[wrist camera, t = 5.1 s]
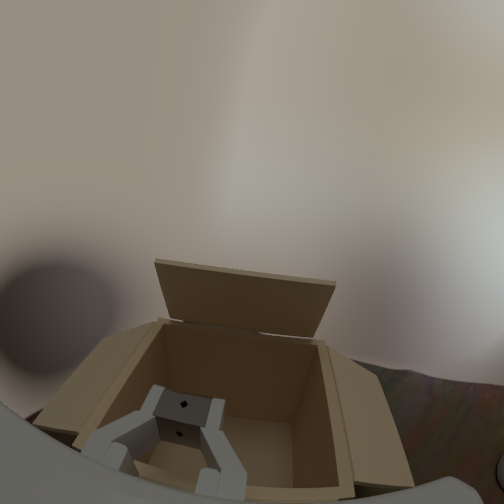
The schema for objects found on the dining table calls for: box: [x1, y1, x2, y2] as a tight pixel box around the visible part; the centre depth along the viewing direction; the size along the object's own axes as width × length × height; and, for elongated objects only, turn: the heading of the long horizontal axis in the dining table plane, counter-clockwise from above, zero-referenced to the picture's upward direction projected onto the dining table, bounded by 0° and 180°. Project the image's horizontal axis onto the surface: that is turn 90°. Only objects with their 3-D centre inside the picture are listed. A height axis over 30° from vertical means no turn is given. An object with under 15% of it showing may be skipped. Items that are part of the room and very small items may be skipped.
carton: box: [32, 318, 415, 503], centre depth 15 cm, size 21×27×12 cm
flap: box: [154, 259, 336, 338], centre depth 21 cm, size 7×13×1 cm
